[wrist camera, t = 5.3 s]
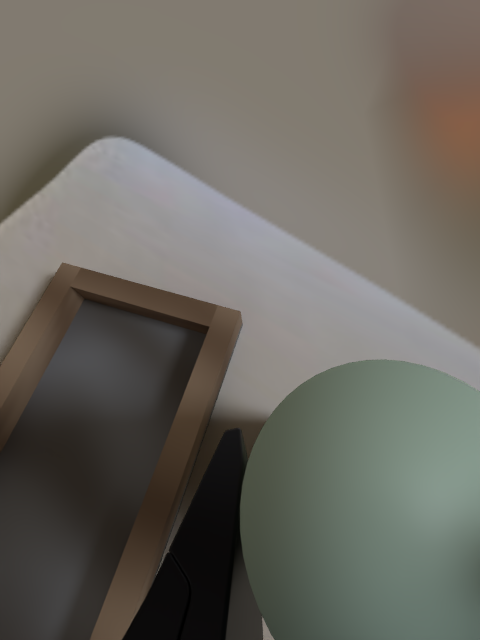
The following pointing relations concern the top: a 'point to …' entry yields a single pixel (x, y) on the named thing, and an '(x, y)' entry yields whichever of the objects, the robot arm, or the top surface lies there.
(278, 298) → the top surface
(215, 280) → the top surface
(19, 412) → the brown wooden flat tray
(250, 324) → the top surface
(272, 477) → the post
